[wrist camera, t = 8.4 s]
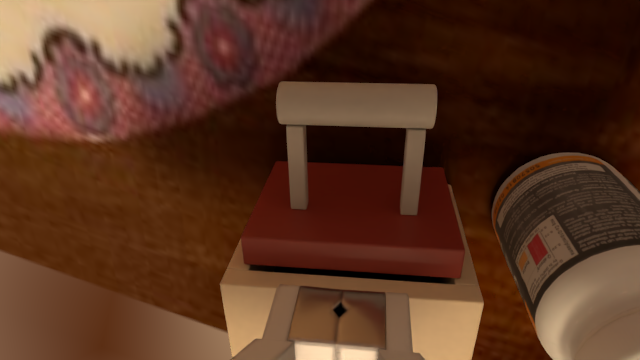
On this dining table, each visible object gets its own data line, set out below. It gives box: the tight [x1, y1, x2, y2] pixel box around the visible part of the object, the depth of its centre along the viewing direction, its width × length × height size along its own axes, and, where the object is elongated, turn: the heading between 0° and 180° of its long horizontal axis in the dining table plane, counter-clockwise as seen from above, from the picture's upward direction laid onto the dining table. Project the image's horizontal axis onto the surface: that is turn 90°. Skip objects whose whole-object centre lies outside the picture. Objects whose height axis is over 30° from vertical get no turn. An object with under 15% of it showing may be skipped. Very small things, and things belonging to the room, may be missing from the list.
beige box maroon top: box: [220, 184, 484, 360], centre depth 20 cm, size 10×9×8 cm
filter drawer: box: [241, 81, 465, 283], centre depth 18 cm, size 13×7×6 cm, turn 1°
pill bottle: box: [492, 152, 640, 360], centre depth 16 cm, size 6×6×10 cm
